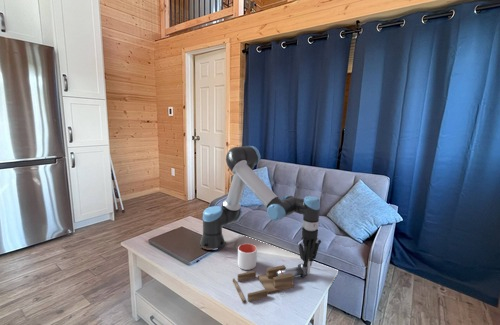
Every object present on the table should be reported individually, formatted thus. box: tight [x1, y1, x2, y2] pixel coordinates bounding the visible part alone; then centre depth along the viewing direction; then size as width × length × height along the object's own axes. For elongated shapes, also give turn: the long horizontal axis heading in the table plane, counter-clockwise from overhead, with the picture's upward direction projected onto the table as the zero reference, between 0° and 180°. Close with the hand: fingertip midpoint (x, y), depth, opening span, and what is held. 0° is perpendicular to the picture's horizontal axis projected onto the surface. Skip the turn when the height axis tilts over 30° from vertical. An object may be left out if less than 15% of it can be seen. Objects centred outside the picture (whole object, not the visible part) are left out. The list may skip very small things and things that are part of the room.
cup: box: [237, 243, 258, 271], centre depth 126 cm, size 10×10×10 cm
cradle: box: [232, 264, 295, 304], centre depth 111 cm, size 15×26×5 cm, turn 111°
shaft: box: [276, 263, 308, 278], centre depth 116 cm, size 6×15×6 cm, turn 111°
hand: (307, 271), depth 120 cm, fingers closed
